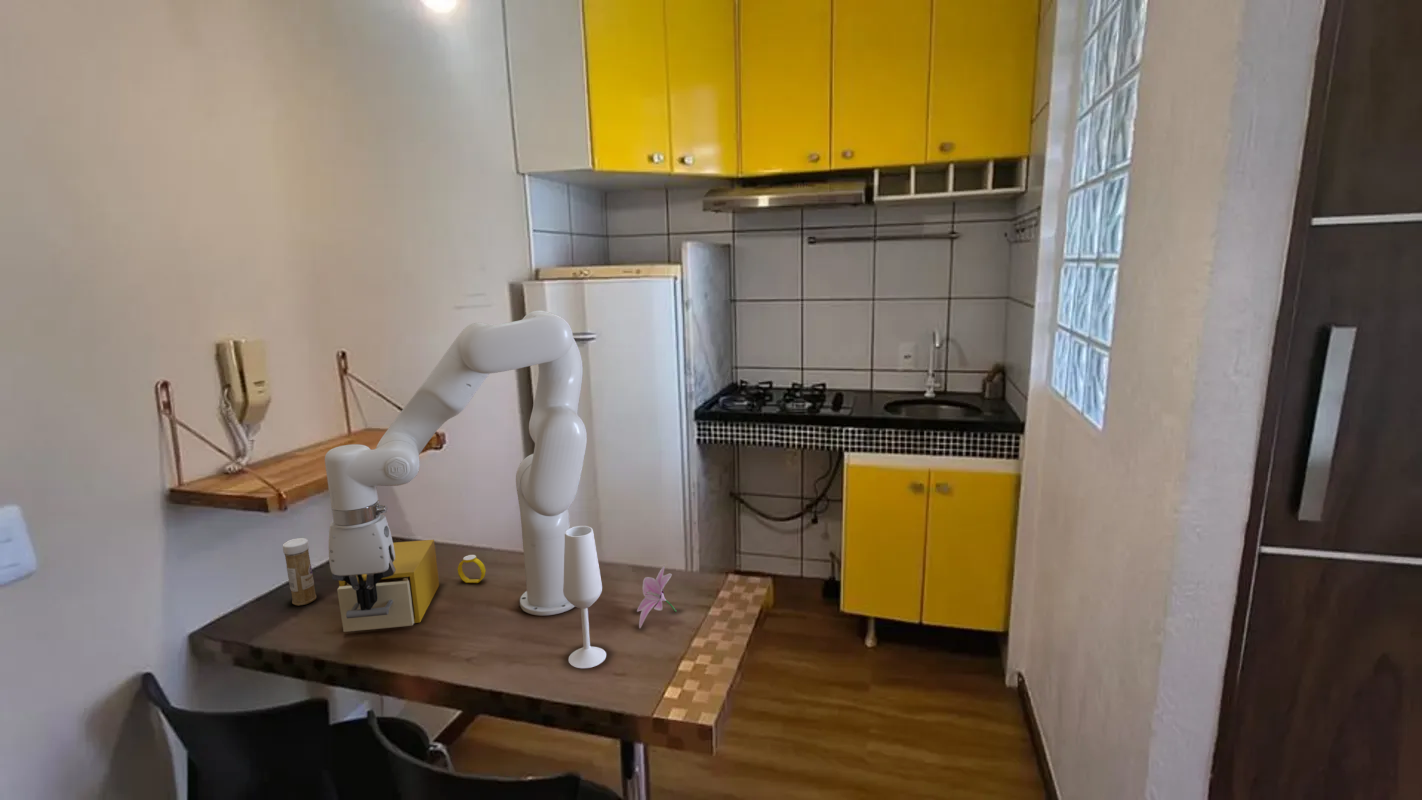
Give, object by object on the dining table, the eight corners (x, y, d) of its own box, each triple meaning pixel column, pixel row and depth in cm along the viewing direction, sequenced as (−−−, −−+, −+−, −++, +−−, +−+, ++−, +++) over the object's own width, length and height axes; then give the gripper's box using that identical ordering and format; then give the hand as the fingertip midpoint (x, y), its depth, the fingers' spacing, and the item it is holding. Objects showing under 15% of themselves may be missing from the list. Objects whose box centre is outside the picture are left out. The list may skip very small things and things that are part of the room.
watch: (488, 580, 150) (486, 555, 149) (482, 585, 148) (479, 560, 146) (463, 578, 151) (461, 553, 150) (457, 584, 149) (454, 559, 148)
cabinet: (420, 622, 133) (413, 572, 131) (345, 629, 131) (338, 578, 129) (439, 585, 148) (434, 539, 146) (373, 591, 147) (366, 544, 144)
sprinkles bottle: (317, 602, 142) (308, 542, 139) (292, 608, 140) (282, 548, 137) (316, 593, 146) (307, 535, 143) (291, 599, 143) (281, 540, 141)
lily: (649, 600, 142) (626, 568, 138) (699, 584, 138) (676, 552, 135) (639, 646, 132) (613, 613, 128) (691, 631, 128) (667, 597, 124)
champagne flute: (599, 669, 117) (590, 540, 112) (562, 666, 118) (552, 538, 113) (611, 648, 123) (604, 524, 118) (576, 645, 124) (567, 522, 119)
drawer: (405, 638, 126) (400, 594, 124) (334, 645, 124) (327, 601, 122) (431, 589, 144) (427, 551, 143) (369, 595, 143) (363, 556, 141)
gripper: (405, 503, 126) (416, 593, 130) (320, 508, 124) (333, 599, 128) (393, 518, 119) (404, 613, 123) (302, 524, 117) (317, 620, 121)
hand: (368, 606), depth 126 cm, fingers closed
